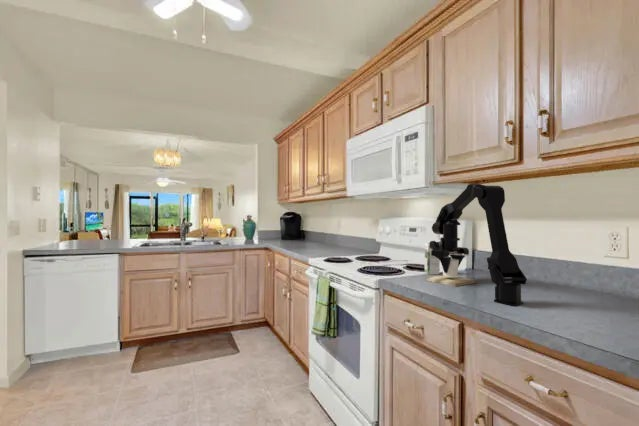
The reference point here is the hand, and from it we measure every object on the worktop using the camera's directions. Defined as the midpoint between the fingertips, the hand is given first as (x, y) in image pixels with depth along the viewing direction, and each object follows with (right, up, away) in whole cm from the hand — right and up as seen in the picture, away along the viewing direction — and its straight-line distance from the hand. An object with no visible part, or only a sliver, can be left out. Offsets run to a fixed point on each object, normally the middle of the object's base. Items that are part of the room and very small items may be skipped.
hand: (450, 271), depth 135 cm
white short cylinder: (0, -2, 0) cm, 2 cm away
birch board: (0, -4, 0) cm, 4 cm away
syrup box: (-1, -4, +18) cm, 19 cm away
